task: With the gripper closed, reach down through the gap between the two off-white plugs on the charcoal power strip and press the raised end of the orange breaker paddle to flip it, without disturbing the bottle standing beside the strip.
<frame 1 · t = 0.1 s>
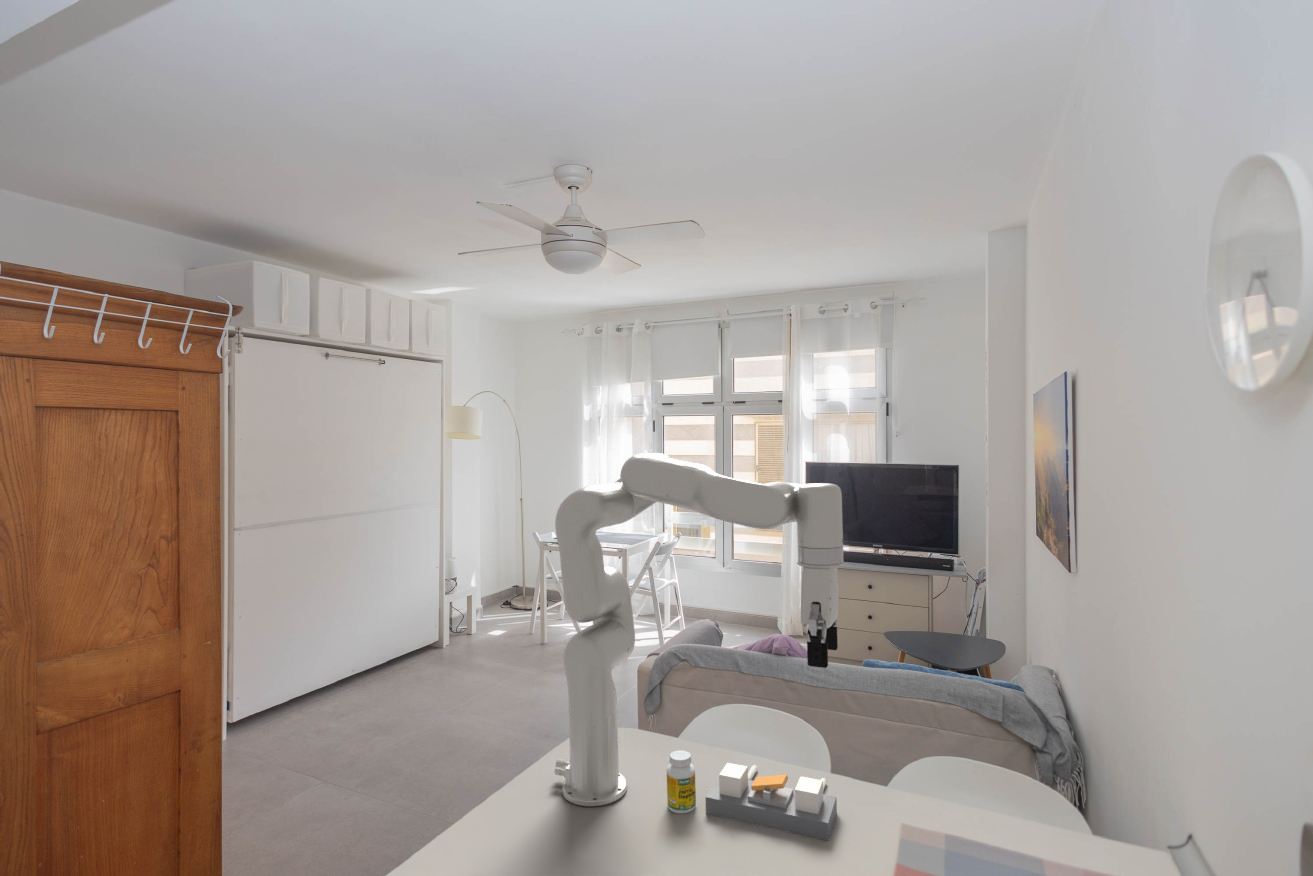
hand: (823, 657, 111), 31 cm above the table, tool pointing down, fingers open, 9 cm apart
breaker paddle: (770, 783, 119), point 5 cm above the table, hinge at -15.0°
supplement bottle: (681, 807, 122), on the table
power strip: (771, 813, 119), on the table
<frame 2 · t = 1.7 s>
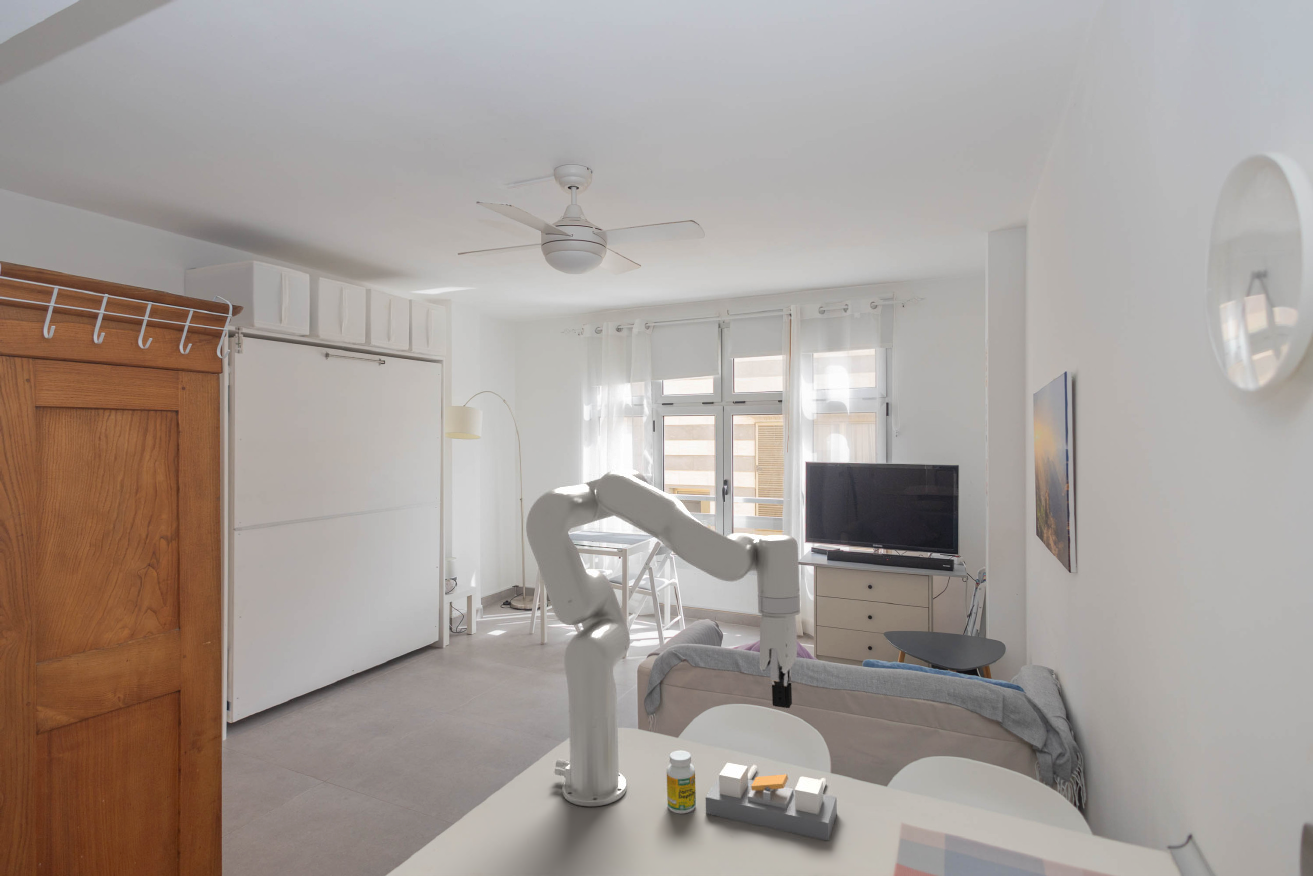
hand: (782, 705, 119), 20 cm above the table, tool pointing down, fingers closed
nothing on the table moved.
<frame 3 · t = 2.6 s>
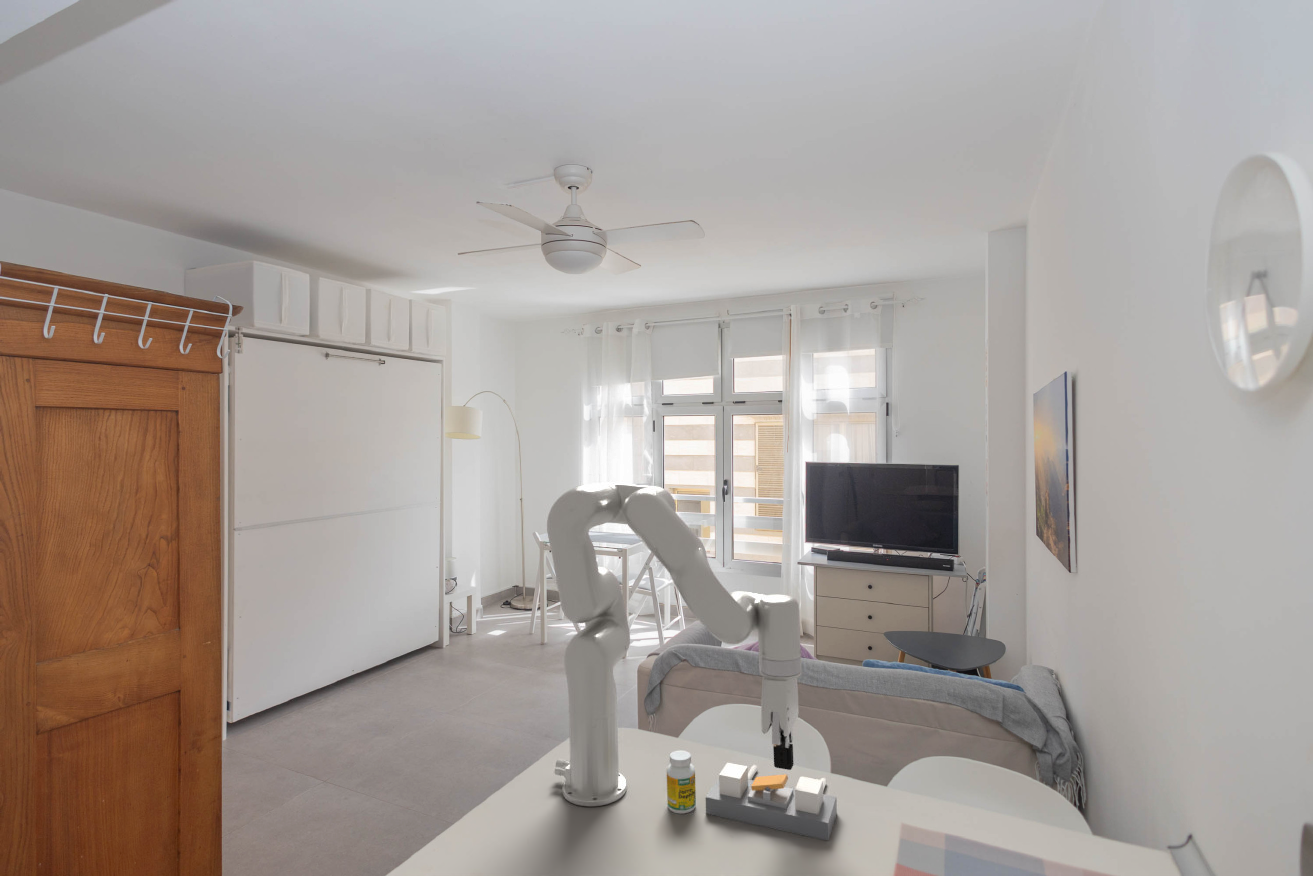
hand: (783, 766, 118), 9 cm above the table, tool pointing down, fingers closed
nothing on the table moved.
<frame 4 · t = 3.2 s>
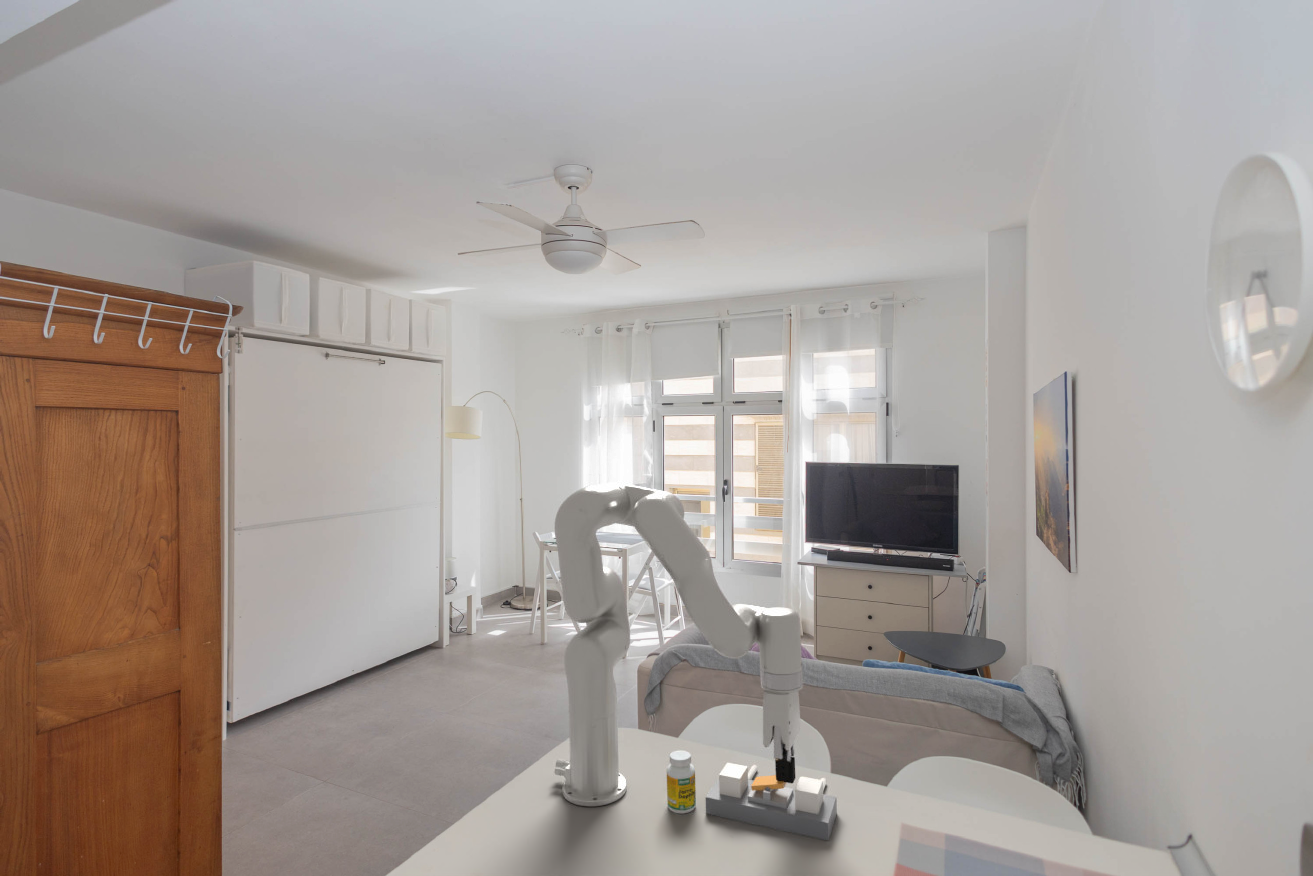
hand: (785, 780, 118), 7 cm above the table, tool pointing down, fingers closed
breaker paddle: (770, 783, 119), point 5 cm above the table, hinge at -14.7°, touching gripper
everything else where it was.
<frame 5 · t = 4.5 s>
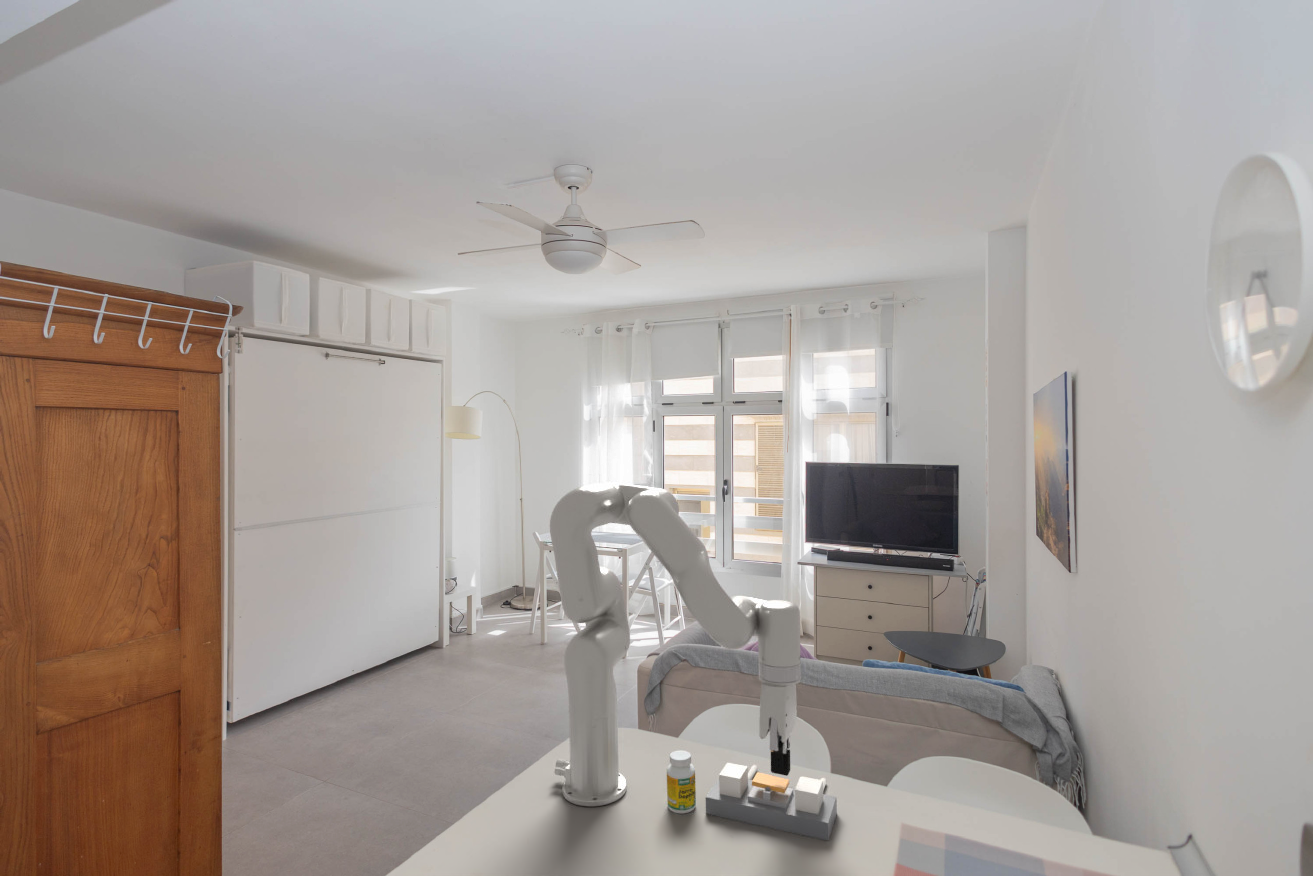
hand: (780, 772, 119), 8 cm above the table, tool pointing down, fingers closed
breaker paddle: (770, 784, 119), point 5 cm above the table, hinge at 2.7°
everything else where it was.
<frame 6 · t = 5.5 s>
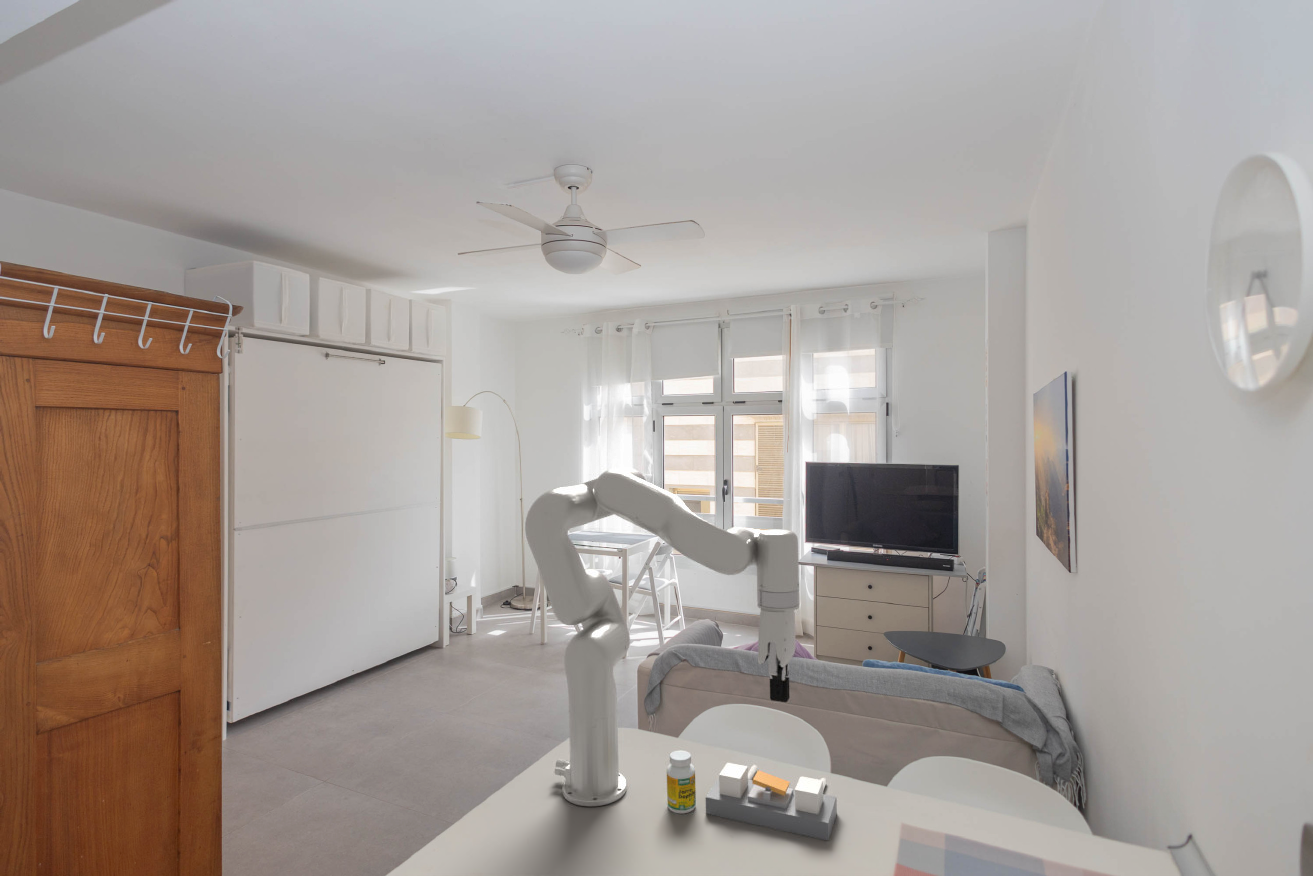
hand: (779, 699, 119), 21 cm above the table, tool pointing down, fingers closed
breaker paddle: (770, 784, 119), point 5 cm above the table, hinge at 10.3°
everything else where it was.
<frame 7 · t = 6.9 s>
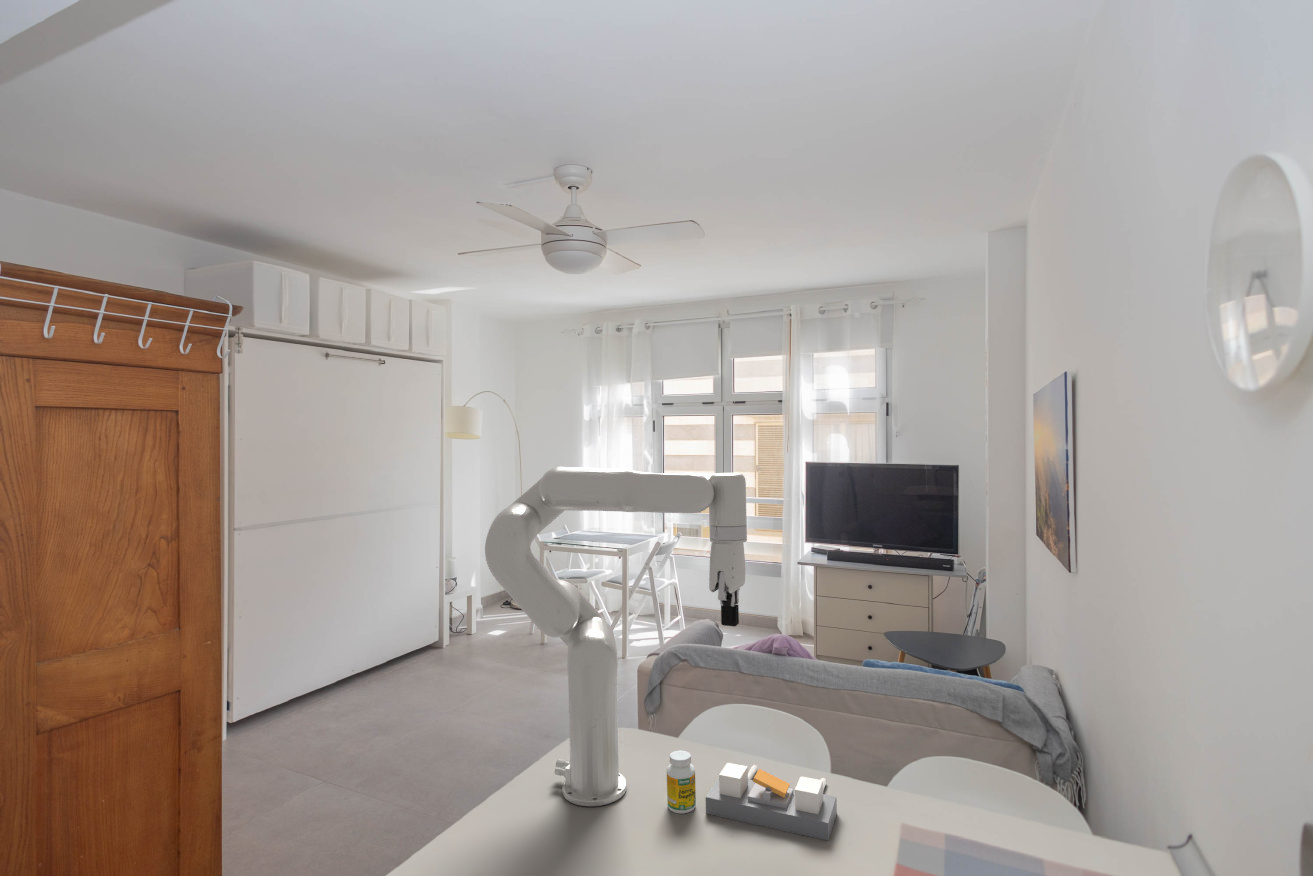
hand: (730, 624, 132), 31 cm above the table, tool pointing down, fingers closed
breaker paddle: (771, 784, 119), point 5 cm above the table, hinge at 17.0°
everything else where it was.
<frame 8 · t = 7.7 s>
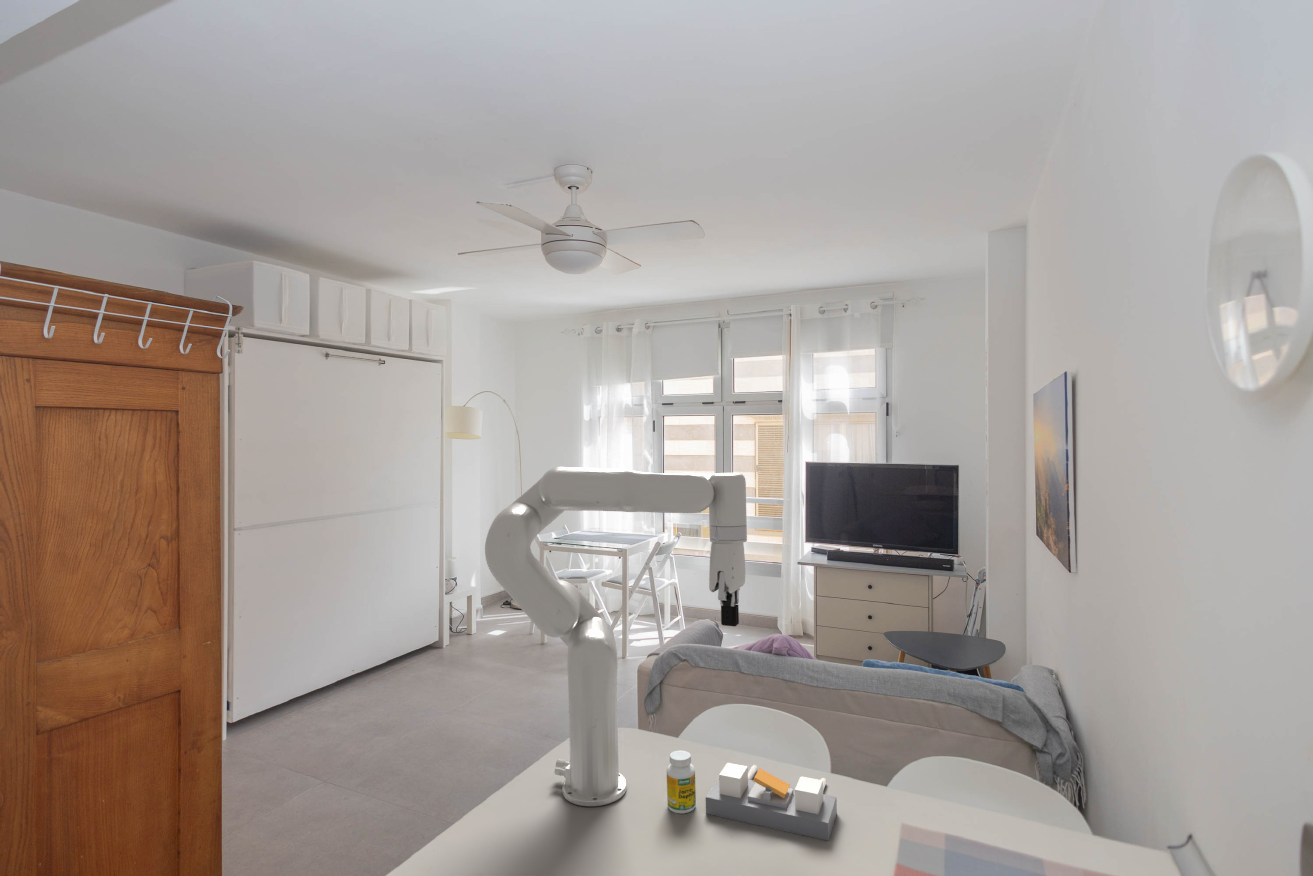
hand: (730, 624, 132), 31 cm above the table, tool pointing down, fingers closed
breaker paddle: (771, 784, 119), point 5 cm above the table, hinge at 19.5°
everything else where it was.
at the end: breaker paddle at +20° (first picture: -15°); supplement bottle moved 0.2 cm from its start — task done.
